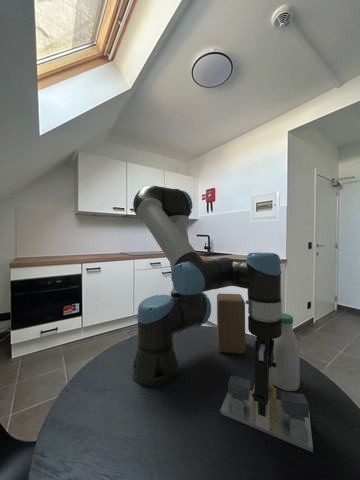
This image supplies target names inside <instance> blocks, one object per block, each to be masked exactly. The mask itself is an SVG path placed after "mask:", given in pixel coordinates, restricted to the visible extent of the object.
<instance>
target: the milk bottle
mask: <svg viewBox="0 0 360 480" xmlns="http://www.w3.org/2000/svg"><path fill="white" fill-rule="evenodd" d="M280 319H281V321H282V335H281V336H280V337H279V338H276V339H273V340H274V350H273V357H274V360H273V362H274V363H276V368H275V367H271V368H273V379H274V387H275V386H276V387H277V388H279V389H281V390H282V391H285V392H295V391H297V390H298V389H299V387H300V384H301V383H300V373H301V372H300V347H299V346H300V345H299V342H298V338H297V336H296V334H295V332H294V329H293V325H294V318H293V316H292V315H291V314H288V313H283V312H282V317H281V318H280Z"/></svg>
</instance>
